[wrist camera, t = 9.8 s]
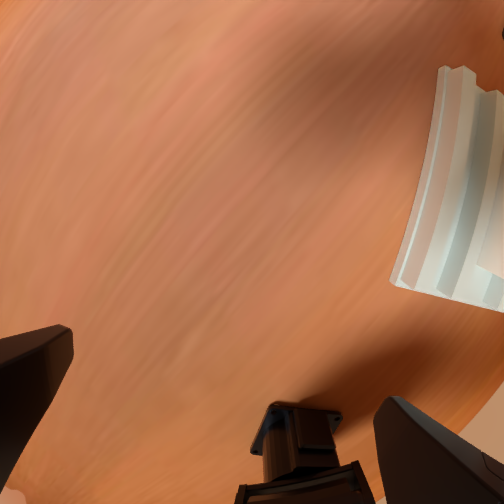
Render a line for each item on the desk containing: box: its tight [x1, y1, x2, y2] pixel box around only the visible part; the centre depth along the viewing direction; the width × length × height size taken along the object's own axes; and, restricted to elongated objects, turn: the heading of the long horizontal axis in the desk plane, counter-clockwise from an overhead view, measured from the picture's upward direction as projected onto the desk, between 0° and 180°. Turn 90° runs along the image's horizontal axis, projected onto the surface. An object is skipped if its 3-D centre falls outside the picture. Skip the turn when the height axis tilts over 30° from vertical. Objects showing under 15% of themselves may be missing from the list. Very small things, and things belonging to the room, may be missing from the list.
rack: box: [389, 65, 504, 313], centre depth 16 cm, size 16×14×3 cm
